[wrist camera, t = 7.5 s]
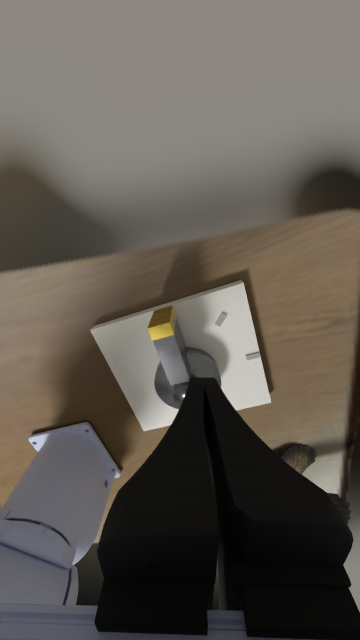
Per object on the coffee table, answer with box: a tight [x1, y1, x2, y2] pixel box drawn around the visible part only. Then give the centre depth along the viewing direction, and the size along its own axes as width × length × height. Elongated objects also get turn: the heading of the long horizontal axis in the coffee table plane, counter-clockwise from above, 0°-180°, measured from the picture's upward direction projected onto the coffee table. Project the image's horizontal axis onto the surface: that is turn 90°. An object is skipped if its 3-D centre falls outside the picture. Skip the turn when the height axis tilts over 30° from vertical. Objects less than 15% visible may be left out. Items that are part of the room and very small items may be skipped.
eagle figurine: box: [281, 444, 351, 524], centre depth 26 cm, size 8×7×9 cm
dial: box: [147, 305, 221, 409], centre depth 19 cm, size 10×6×4 cm, turn 17°
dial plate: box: [90, 280, 271, 431], centre depth 22 cm, size 13×14×1 cm
